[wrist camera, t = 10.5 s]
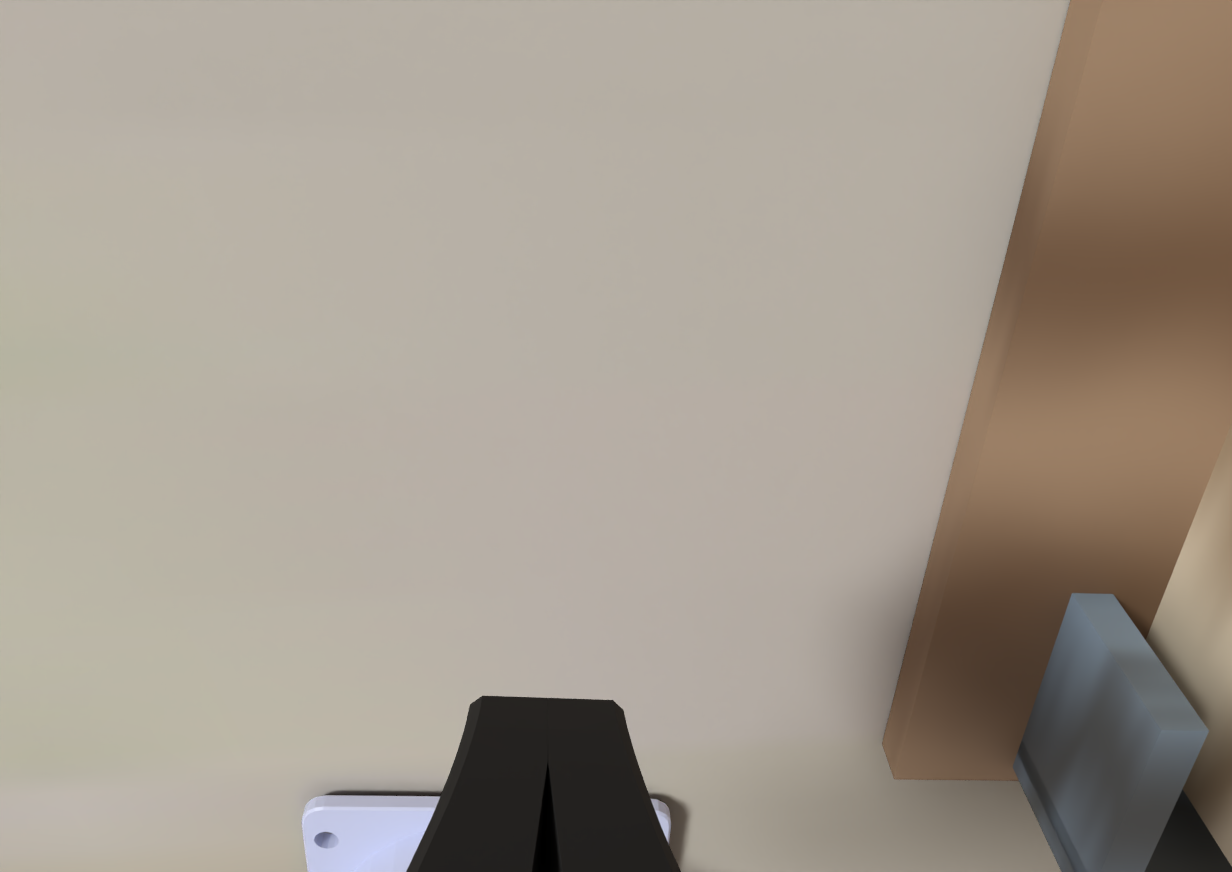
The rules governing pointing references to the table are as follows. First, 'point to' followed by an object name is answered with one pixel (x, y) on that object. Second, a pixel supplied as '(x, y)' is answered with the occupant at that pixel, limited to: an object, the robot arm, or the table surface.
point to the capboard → (1089, 453)
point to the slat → (1205, 645)
